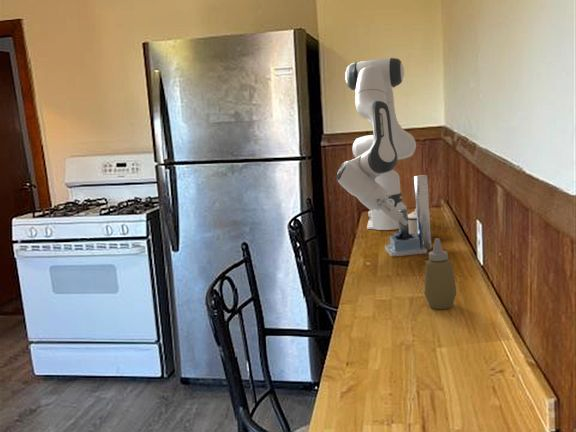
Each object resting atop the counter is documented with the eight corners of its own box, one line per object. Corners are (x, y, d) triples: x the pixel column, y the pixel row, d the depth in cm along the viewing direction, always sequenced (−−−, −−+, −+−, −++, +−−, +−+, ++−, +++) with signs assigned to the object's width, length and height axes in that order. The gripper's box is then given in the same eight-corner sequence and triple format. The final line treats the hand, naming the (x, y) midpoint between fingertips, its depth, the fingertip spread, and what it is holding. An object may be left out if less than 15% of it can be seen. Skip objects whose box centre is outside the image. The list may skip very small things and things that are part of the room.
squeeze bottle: (426, 312, 151) (422, 243, 148) (423, 301, 159) (419, 236, 156) (459, 310, 150) (455, 241, 147) (455, 300, 158) (451, 234, 155)
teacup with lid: (432, 240, 222) (430, 210, 219) (407, 242, 224) (405, 211, 221) (431, 233, 233) (429, 204, 231) (407, 234, 235) (405, 205, 233)
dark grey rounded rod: (398, 237, 212) (396, 209, 211) (408, 236, 212) (406, 208, 211) (400, 239, 209) (398, 211, 207) (410, 238, 209) (408, 210, 207)
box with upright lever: (381, 244, 224) (376, 175, 219) (422, 240, 224) (418, 171, 219) (391, 256, 206) (385, 182, 201) (435, 252, 206) (431, 177, 201)
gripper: (386, 195, 197) (418, 221, 199) (376, 187, 217) (405, 210, 219) (374, 209, 198) (405, 235, 200) (365, 200, 218) (393, 223, 220)
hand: (405, 222), depth 210 cm, fingers closed on dark grey rounded rod, 3 cm apart
